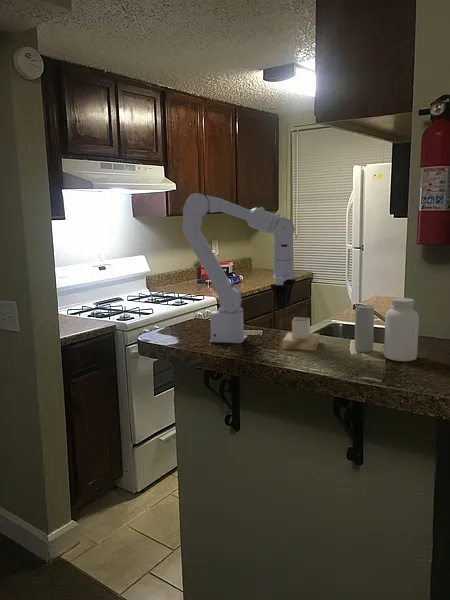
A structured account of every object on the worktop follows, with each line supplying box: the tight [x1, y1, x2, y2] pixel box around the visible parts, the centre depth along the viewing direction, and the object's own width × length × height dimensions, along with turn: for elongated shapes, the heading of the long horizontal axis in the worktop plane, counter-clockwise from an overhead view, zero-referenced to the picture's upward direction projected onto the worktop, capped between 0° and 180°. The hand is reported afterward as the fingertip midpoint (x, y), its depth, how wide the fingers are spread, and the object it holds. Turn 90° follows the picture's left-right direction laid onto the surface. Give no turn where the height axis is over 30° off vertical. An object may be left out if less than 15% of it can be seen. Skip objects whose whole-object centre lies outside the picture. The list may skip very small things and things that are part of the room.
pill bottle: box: [383, 297, 420, 362], centre depth 127 cm, size 8×8×15 cm
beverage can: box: [354, 304, 375, 353], centre depth 135 cm, size 5×5×12 cm
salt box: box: [291, 316, 311, 339], centre depth 142 cm, size 4×4×5 cm
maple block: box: [282, 331, 320, 351], centre depth 143 cm, size 9×9×3 cm
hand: (283, 306), depth 149 cm, fingers open, 7 cm apart
